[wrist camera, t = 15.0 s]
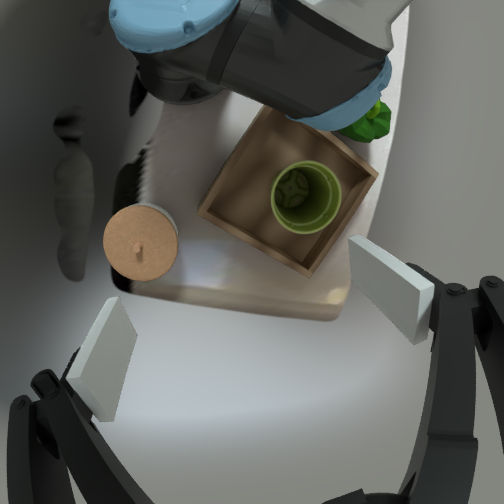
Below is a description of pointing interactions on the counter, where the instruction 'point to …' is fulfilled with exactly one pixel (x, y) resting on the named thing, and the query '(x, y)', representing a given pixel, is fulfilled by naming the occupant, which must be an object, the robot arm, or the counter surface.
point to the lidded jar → (141, 241)
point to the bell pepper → (370, 124)
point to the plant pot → (305, 197)
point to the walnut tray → (259, 181)
